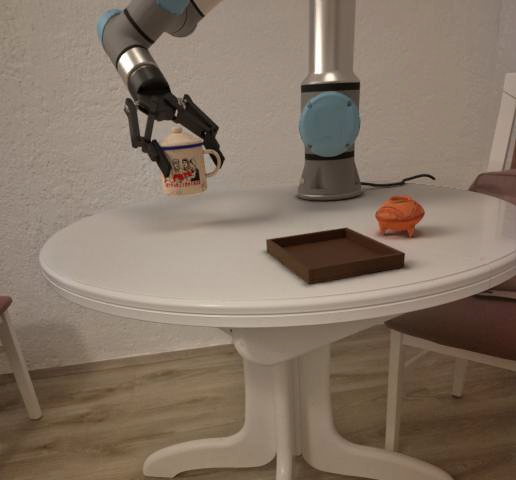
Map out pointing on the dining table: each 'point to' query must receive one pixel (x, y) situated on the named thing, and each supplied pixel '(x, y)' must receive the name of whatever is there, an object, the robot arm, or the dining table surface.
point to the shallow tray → (333, 254)
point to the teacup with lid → (185, 164)
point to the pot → (399, 214)
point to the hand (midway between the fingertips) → (195, 168)
